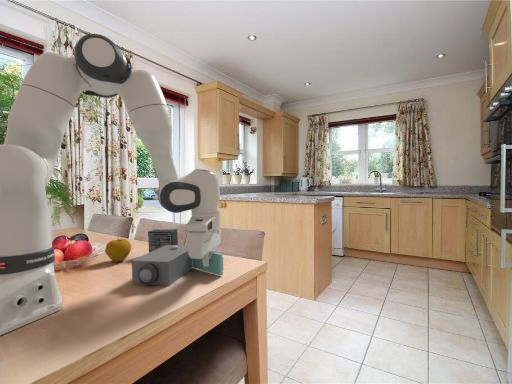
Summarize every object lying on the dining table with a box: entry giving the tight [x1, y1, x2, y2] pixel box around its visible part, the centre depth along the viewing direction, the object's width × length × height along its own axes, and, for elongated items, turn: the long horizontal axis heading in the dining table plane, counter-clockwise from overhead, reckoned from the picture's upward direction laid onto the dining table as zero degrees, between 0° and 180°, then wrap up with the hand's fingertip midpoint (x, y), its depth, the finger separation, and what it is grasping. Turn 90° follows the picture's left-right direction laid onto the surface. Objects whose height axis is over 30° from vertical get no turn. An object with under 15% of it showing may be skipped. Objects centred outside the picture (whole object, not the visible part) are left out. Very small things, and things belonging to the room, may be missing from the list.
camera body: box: [131, 244, 194, 287], centre depth 87 cm, size 22×12×8 cm, turn 169°
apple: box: [104, 238, 132, 263], centre depth 104 cm, size 9×9×9 cm
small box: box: [147, 228, 179, 253], centre depth 113 cm, size 11×6×10 cm, turn 84°
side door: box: [192, 251, 224, 277], centre depth 89 cm, size 14×2×7 cm, turn 50°
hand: (207, 265), depth 84 cm, fingers closed
